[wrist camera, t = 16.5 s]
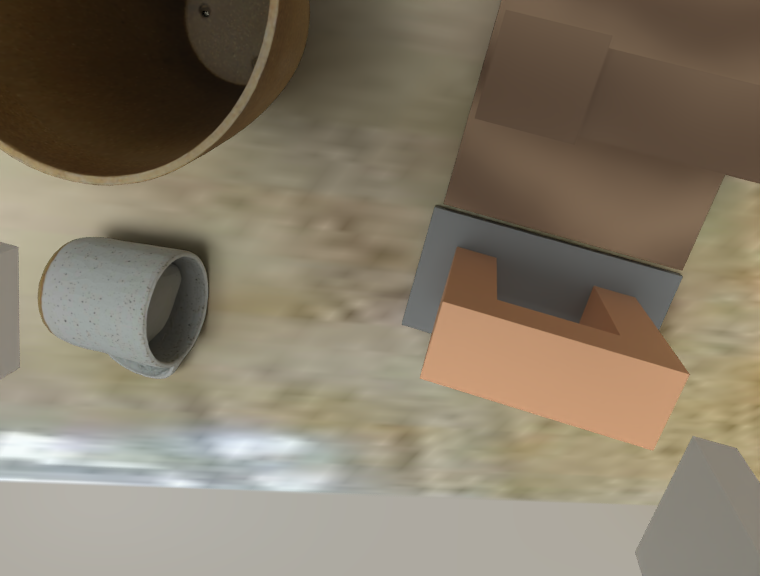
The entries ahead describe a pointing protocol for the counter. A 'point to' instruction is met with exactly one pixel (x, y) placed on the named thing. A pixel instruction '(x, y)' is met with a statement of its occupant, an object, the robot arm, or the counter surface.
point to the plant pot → (138, 80)
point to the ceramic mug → (126, 301)
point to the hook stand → (613, 120)
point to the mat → (531, 271)
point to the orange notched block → (555, 356)
